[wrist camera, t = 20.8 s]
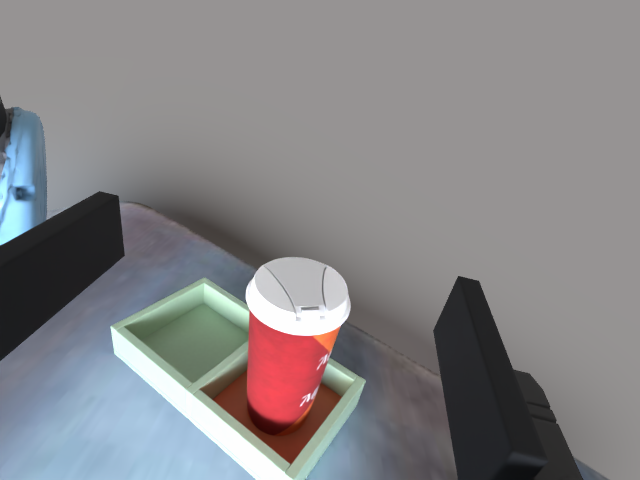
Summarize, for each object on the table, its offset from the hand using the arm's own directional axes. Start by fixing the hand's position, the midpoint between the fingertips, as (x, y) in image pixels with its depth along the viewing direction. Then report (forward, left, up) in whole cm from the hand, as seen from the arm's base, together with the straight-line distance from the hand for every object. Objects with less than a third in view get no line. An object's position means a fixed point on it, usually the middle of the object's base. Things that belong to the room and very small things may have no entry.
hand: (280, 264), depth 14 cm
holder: (-9, +9, -23) cm, 26 cm away
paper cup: (-4, +9, -22) cm, 24 cm away
